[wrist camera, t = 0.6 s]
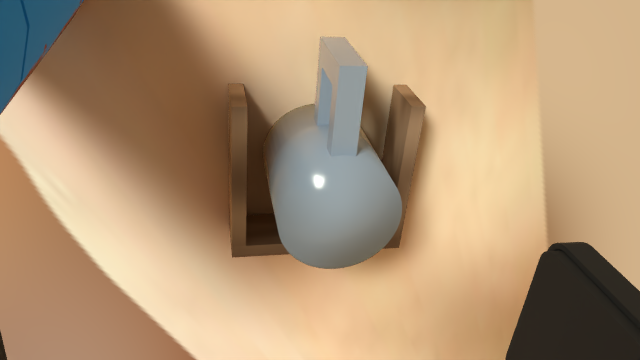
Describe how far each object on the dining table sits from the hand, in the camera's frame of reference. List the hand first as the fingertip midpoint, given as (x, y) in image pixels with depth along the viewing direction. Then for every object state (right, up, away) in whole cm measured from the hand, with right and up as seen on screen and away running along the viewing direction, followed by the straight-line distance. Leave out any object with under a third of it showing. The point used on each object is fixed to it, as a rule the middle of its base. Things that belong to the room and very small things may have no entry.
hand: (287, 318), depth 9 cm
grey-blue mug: (0, +7, +31) cm, 32 cm away
